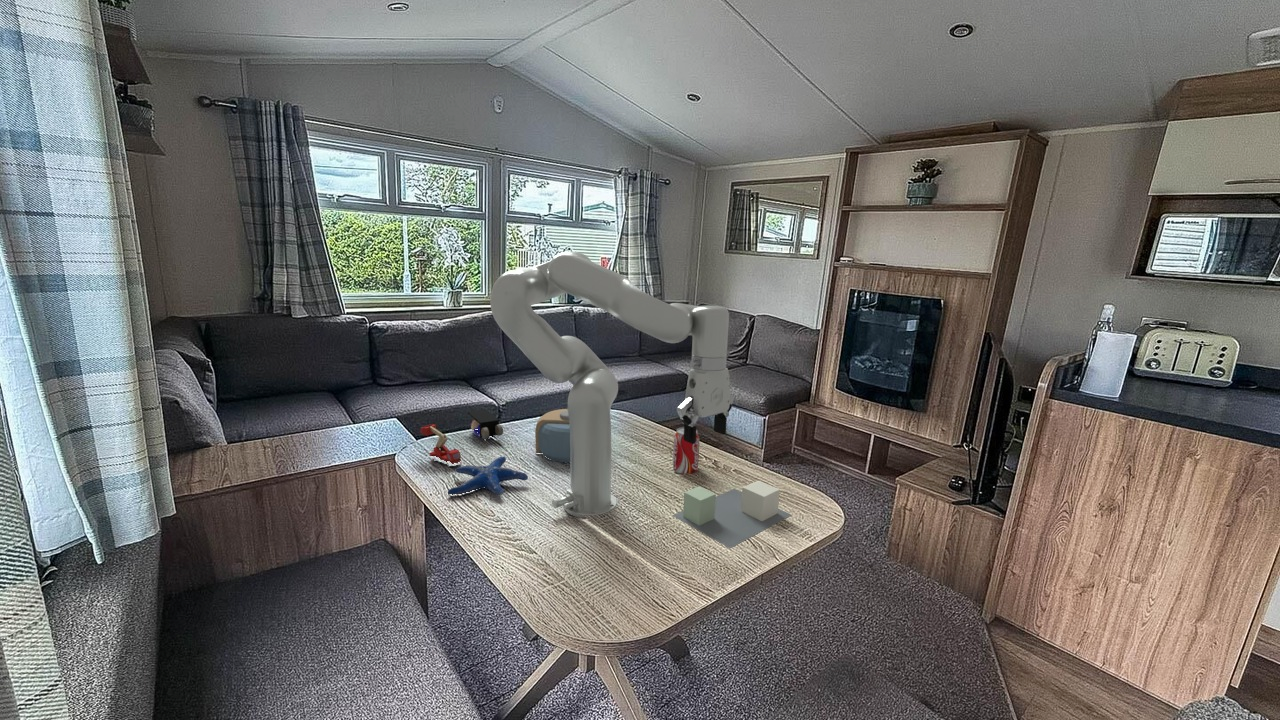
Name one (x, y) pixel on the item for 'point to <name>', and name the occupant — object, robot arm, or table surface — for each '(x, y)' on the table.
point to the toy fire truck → (441, 446)
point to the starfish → (487, 477)
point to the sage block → (699, 505)
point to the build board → (742, 514)
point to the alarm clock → (554, 435)
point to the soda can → (685, 453)
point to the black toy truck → (485, 424)
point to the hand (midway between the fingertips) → (704, 437)
